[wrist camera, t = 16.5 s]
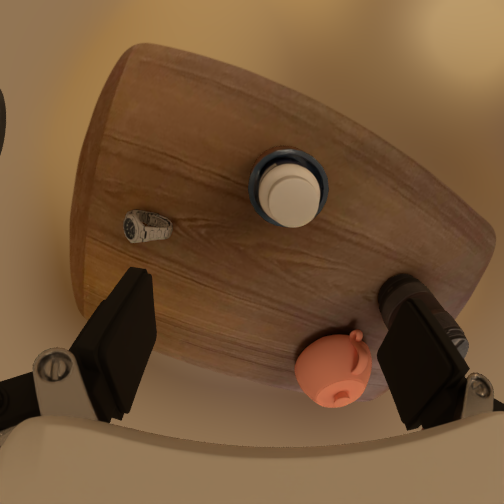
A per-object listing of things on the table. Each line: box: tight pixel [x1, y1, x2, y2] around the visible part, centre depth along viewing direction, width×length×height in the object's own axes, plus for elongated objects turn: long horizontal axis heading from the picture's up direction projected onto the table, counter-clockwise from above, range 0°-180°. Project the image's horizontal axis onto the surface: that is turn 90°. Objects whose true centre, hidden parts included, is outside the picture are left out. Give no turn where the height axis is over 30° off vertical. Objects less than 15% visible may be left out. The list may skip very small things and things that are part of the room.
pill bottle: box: [259, 157, 320, 227], centre depth 25 cm, size 5×5×10 cm
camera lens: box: [378, 274, 469, 359], centre depth 30 cm, size 8×8×15 cm
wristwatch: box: [123, 210, 173, 243], centre depth 31 cm, size 4×6×5 cm, turn 74°
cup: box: [248, 146, 329, 227], centre depth 28 cm, size 8×8×6 cm
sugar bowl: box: [295, 329, 372, 408], centre depth 37 cm, size 12×14×10 cm
